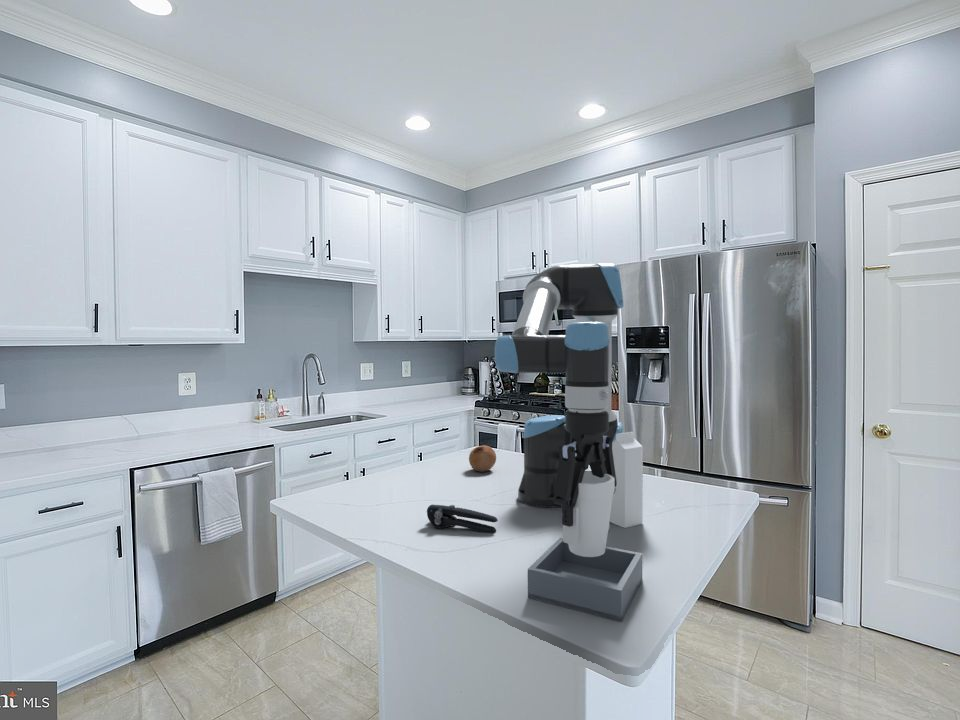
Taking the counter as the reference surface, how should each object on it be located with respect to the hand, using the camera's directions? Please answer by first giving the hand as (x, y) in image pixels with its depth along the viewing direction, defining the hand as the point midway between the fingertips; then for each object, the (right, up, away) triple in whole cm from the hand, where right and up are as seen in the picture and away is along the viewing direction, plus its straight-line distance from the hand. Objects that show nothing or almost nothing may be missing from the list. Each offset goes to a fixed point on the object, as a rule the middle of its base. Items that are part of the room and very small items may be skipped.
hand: (586, 535), depth 90 cm
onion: (-18, -7, +85) cm, 87 cm away
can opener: (-23, -9, +31) cm, 40 cm away
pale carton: (+16, -9, +34) cm, 38 cm away
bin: (0, -10, 0) cm, 10 cm away
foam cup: (0, -3, 0) cm, 3 cm away
